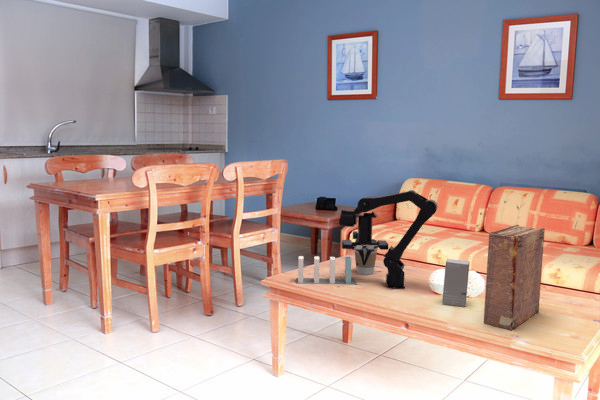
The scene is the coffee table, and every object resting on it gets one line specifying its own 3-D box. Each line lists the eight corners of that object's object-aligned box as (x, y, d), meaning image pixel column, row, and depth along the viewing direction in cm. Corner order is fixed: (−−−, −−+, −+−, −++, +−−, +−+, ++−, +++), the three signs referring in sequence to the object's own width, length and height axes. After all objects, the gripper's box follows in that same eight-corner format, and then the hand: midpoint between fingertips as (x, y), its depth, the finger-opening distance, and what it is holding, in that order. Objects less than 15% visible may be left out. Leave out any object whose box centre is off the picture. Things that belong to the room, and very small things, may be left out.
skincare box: (442, 304, 190) (444, 261, 188) (443, 299, 197) (445, 257, 195) (466, 307, 187) (468, 264, 186) (467, 301, 194) (469, 259, 192)
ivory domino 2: (334, 280, 220) (334, 256, 218) (334, 283, 215) (335, 259, 213) (329, 280, 220) (329, 256, 218) (329, 283, 215) (330, 259, 213)
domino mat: (355, 279, 222) (355, 279, 222) (357, 285, 214) (357, 284, 214) (295, 278, 222) (295, 277, 222) (295, 284, 214) (295, 283, 214)
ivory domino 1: (318, 279, 220) (319, 256, 218) (318, 283, 215) (319, 259, 213) (313, 279, 220) (314, 256, 218) (314, 283, 215) (314, 259, 213)
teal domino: (349, 280, 220) (350, 257, 218) (350, 283, 215) (351, 259, 213) (344, 280, 220) (345, 256, 218) (345, 283, 215) (346, 259, 214)
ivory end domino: (303, 279, 220) (303, 256, 218) (303, 282, 215) (303, 258, 213) (298, 279, 220) (298, 256, 218) (298, 282, 215) (298, 258, 213)
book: (512, 306, 190) (517, 224, 186) (539, 312, 184) (545, 227, 180) (483, 323, 171) (488, 232, 168) (512, 331, 165) (518, 236, 161)
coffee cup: (349, 270, 238) (350, 237, 236) (374, 270, 239) (375, 237, 238) (355, 277, 227) (356, 242, 225) (380, 276, 228) (382, 242, 226)
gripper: (384, 225, 222) (383, 261, 224) (340, 224, 222) (339, 260, 224) (389, 229, 211) (387, 267, 213) (342, 228, 211) (341, 266, 213)
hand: (363, 265), depth 216 cm, fingers closed
